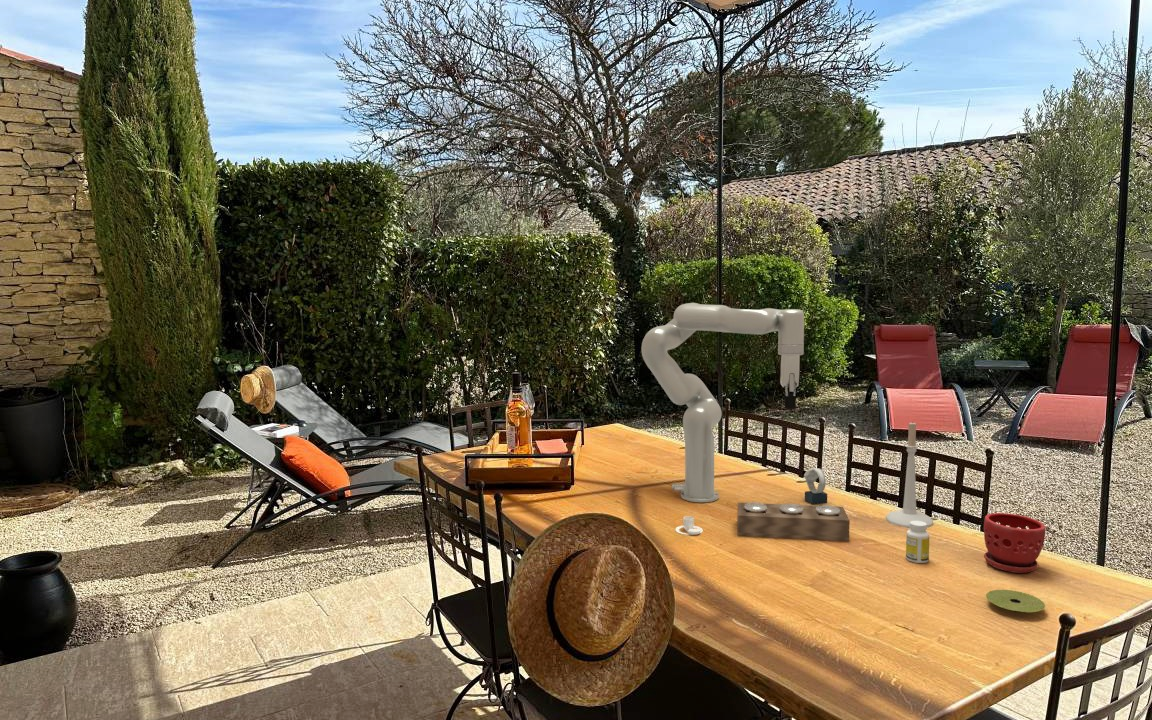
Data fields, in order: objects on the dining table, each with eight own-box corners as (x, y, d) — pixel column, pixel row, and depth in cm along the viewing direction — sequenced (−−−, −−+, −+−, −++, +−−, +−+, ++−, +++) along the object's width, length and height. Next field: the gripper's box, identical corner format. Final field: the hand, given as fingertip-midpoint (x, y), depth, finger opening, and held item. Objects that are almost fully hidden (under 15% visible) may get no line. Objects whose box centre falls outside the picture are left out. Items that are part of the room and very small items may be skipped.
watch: (816, 497, 245) (817, 464, 244) (830, 504, 237) (831, 471, 236) (801, 499, 244) (801, 466, 242) (814, 506, 236) (815, 472, 235)
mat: (1021, 624, 156) (1021, 615, 156) (974, 603, 167) (974, 594, 166) (1056, 613, 161) (1057, 605, 161) (1008, 593, 171) (1008, 585, 171)
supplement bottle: (927, 557, 193) (928, 520, 192) (929, 564, 188) (931, 527, 187) (904, 554, 195) (906, 518, 194) (906, 562, 190) (907, 525, 189)
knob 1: (744, 527, 214) (744, 508, 213) (743, 519, 220) (743, 502, 219) (767, 528, 212) (767, 509, 212) (766, 520, 218) (766, 502, 218)
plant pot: (1022, 581, 178) (1024, 532, 176) (970, 562, 189) (972, 517, 188) (1054, 570, 184) (1057, 523, 182) (1003, 552, 195) (1005, 508, 194)
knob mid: (780, 528, 212) (780, 510, 211) (778, 521, 218) (779, 503, 217) (803, 529, 210) (804, 511, 210) (801, 522, 216) (801, 504, 216)
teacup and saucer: (702, 538, 212) (702, 524, 211) (674, 536, 213) (674, 522, 213) (703, 527, 220) (703, 514, 220) (676, 526, 222) (676, 513, 221)
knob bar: (738, 535, 211) (738, 515, 211) (737, 521, 223) (737, 502, 222) (849, 541, 205) (849, 520, 205) (842, 526, 217) (842, 506, 216)
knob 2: (817, 530, 210) (817, 511, 209) (814, 522, 216) (814, 504, 215) (840, 531, 208) (841, 512, 208) (837, 523, 214) (837, 505, 214)
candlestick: (876, 517, 224) (879, 420, 221) (907, 511, 229) (911, 415, 226) (910, 530, 213) (914, 428, 209) (943, 524, 218) (946, 423, 214)
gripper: (776, 347, 236) (775, 403, 239) (779, 352, 222) (779, 412, 224) (801, 347, 235) (800, 404, 237) (806, 352, 220) (805, 413, 223)
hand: (790, 408), depth 231 cm, fingers closed
